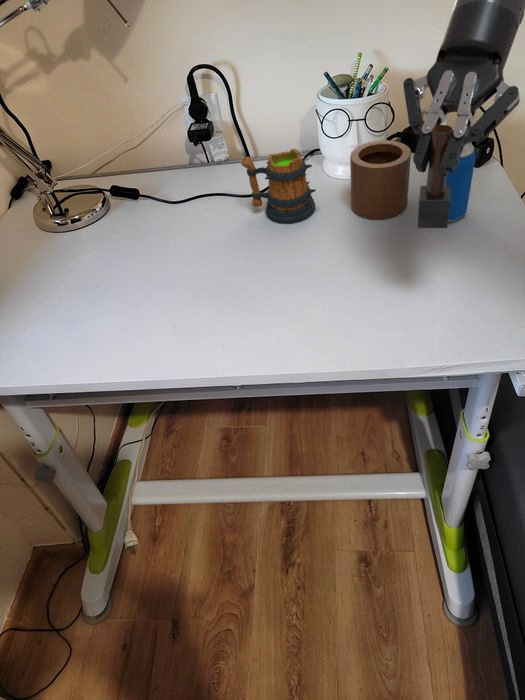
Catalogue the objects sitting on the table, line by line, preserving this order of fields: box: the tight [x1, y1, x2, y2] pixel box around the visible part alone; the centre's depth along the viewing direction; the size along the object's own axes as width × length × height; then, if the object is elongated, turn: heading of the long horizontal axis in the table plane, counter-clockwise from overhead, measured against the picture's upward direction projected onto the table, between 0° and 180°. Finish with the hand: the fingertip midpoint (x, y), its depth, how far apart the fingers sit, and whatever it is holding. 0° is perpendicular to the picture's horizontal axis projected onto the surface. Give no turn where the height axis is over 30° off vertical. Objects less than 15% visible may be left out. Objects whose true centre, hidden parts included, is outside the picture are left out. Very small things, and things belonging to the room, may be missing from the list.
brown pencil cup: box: [349, 139, 412, 221], centre depth 91 cm, size 10×10×10 cm
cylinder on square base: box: [417, 124, 453, 229], centre depth 62 cm, size 4×4×12 cm
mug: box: [240, 148, 316, 225], centre depth 94 cm, size 13×10×12 cm
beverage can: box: [446, 142, 477, 223], centre depth 86 cm, size 6×6×12 cm
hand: (431, 171), depth 59 cm, fingers closed on cylinder on square base, 2 cm apart
